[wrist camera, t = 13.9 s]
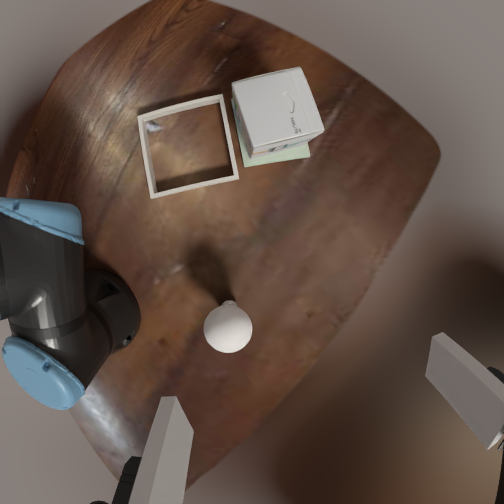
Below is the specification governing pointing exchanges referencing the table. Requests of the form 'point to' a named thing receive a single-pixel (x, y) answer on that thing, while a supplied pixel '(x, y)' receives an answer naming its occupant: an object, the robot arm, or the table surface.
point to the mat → (276, 157)
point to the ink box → (275, 112)
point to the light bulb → (228, 327)
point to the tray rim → (171, 110)
